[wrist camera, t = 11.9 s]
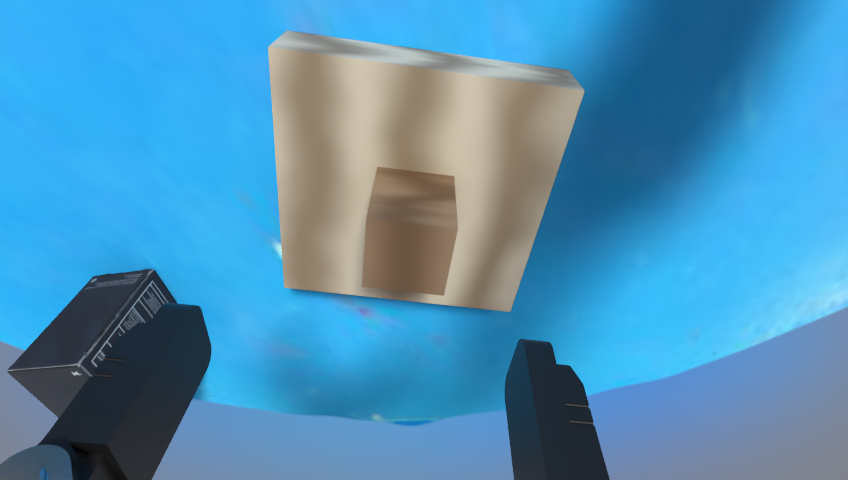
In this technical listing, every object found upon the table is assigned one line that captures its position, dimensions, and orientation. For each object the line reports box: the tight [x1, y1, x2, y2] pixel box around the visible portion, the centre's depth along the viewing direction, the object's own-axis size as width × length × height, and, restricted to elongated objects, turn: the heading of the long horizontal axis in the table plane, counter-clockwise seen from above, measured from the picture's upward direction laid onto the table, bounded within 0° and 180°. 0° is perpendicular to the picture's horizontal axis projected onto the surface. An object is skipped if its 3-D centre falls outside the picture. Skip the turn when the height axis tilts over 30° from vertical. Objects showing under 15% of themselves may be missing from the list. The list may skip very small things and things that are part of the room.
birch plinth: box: [268, 31, 585, 312], centre depth 33 cm, size 18×18×4 cm
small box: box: [7, 269, 177, 418], centre depth 39 cm, size 11×6×10 cm, turn 10°
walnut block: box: [362, 167, 458, 296], centre depth 29 cm, size 5×5×6 cm
